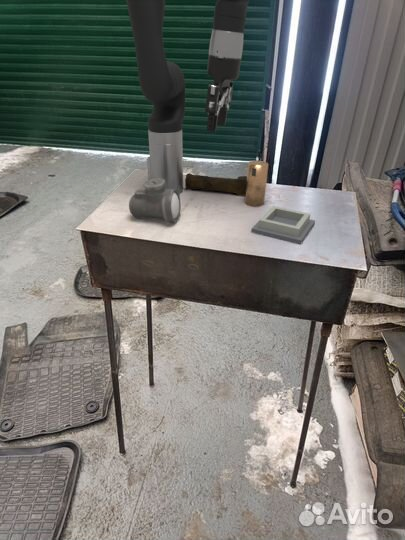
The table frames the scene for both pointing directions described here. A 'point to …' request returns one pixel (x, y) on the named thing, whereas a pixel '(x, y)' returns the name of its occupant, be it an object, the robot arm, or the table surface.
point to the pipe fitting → (156, 201)
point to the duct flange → (284, 224)
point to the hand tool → (217, 184)
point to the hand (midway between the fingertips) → (216, 128)
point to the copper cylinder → (256, 183)
